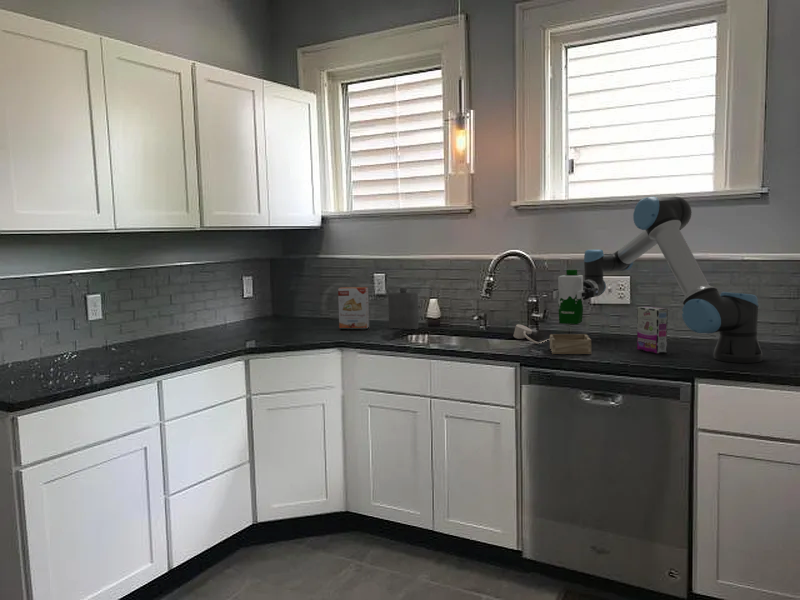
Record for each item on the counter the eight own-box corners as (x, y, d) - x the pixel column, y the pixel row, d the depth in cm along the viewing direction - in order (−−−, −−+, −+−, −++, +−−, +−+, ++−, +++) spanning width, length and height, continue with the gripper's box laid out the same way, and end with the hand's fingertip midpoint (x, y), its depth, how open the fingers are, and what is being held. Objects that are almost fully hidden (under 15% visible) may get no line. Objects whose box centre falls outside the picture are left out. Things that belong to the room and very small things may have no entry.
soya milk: (584, 321, 259) (585, 269, 257) (579, 324, 251) (579, 271, 249) (562, 320, 263) (562, 269, 261) (555, 323, 255) (555, 271, 253)
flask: (420, 328, 331) (419, 287, 329) (416, 329, 326) (415, 288, 323) (392, 327, 336) (390, 287, 334) (387, 329, 331) (386, 288, 329)
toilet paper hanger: (539, 342, 276) (505, 327, 285) (535, 353, 277) (502, 338, 286) (559, 335, 292) (527, 321, 301) (556, 346, 294) (524, 331, 302)
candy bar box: (668, 352, 249) (668, 308, 247) (657, 354, 247) (657, 309, 246) (646, 348, 259) (647, 305, 258) (636, 349, 258) (636, 306, 256)
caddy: (591, 354, 250) (591, 340, 249) (552, 354, 252) (552, 340, 251) (586, 348, 264) (586, 334, 263) (549, 348, 266) (549, 334, 265)
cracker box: (339, 330, 330) (337, 288, 328) (342, 328, 336) (340, 287, 334) (367, 330, 328) (365, 287, 326) (369, 328, 334) (368, 286, 331)
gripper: (612, 299, 266) (593, 306, 247) (560, 298, 277) (539, 304, 259) (612, 280, 265) (593, 285, 246) (560, 280, 277) (539, 284, 258)
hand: (565, 295), depth 252 cm, fingers closed on soya milk, 8 cm apart
